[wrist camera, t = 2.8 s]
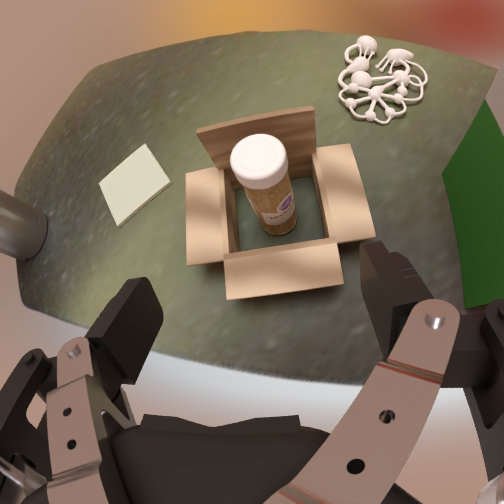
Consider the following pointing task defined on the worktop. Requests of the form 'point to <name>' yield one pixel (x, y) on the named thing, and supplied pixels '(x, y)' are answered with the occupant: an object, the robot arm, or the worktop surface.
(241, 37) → the worktop surface
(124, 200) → the coaster
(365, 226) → the carton
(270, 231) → the sprinkles bottle
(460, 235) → the hardback book
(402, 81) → the tangled rod sculpture
